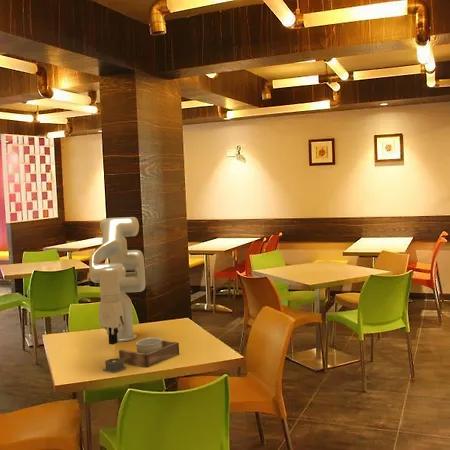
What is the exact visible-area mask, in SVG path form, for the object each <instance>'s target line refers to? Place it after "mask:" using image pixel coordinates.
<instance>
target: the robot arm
mask: <svg viewBox="0 0 450 450" xmlns="http://www.w3.org/2000/svg"><path fill="white" fill-rule="evenodd" d="M99 228H100V231H101V233H102V240H101V242H102V243H101V245H100V246H98V248H97V249H96V250H94V252H93V253H92V255H91V257H90V260H89V271H88V272H89V273H88V275H89V279H90V281H91V282H93V283H94V284H95V283H98V284H99V288H100V294H99V296H100V301H99V305H98V324H99V326H100V327H101V328H103V329H105V330H106V334H107V335H108V343H109V345H112V346H113V345H115V344H118V342H119V343H120V342H129V341H134V340H135V339H136V338H137V334H136V333H134V325H133V324H134V323H133V322H134V321H133V307H132V306H133V305H132V304H133V303H132V299H131V298H130V297H129V295H127V293H138V292H139V293H141V292H143V291H145V289H146V269H145V257H144V254H143V252H142V251H141V250H139V249H128V242H127V239H126V238H128V237H136V236H137V235H138V234H139V231H140V229H139V228H140V224H139V220H138V219H137V217H135V216H129V217H128V216H127V217H126V216H125V217H123V216H122V217H109V218H108V217H107V218H103V219H102V220H100V221H99ZM106 259H109V263H101V262H103V261H104V260H106ZM127 271H130V272H127Z"/></svg>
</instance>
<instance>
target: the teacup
mask: <svg viewBox="0 0 450 450" xmlns="http://www.w3.org/2000/svg"><path fill="white" fill-rule="evenodd" d="M162 340H163V339H162V338H160V337H150V336H149V337H147V338H141V339H140V340H138V341H136V342H135V345H136V352H137V353H143V354H148V353H150V352H153V351H155V350H158V349H161V348H162Z"/></svg>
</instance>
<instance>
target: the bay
mask: <svg viewBox="0 0 450 450" xmlns="http://www.w3.org/2000/svg"><path fill="white" fill-rule="evenodd" d="M179 355H180V344H179V342H177V341H169V340H163V339H162V348H161V349H158V350H155V351H153V352H150V353H148V354H143V353H137V351H131V350H125V349H124V350H123V349H120V350H118V358H119V359H123V364H126V365H130V366H131V365H132V366H138V367H142V368H150V367H152V366H154V365H157V364H159V363H162V362H164V361H166V360H168V359H171V358H174V357H176V356H179Z"/></svg>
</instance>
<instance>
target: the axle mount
mask: <svg viewBox="0 0 450 450" xmlns="http://www.w3.org/2000/svg"><path fill="white" fill-rule="evenodd" d="M112 362H116V361H112ZM126 369H127V366H124V368H123V369H120V370H116V371H108V370H106V368H102V370H103V372H109V373H112V374H115V373H117V372H118V373H119V372H121V371H123V370H126Z"/></svg>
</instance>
